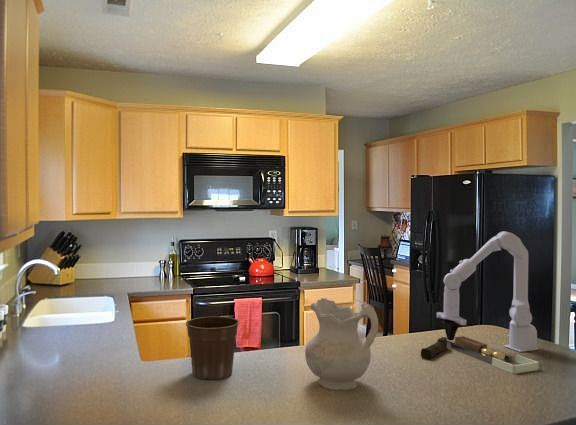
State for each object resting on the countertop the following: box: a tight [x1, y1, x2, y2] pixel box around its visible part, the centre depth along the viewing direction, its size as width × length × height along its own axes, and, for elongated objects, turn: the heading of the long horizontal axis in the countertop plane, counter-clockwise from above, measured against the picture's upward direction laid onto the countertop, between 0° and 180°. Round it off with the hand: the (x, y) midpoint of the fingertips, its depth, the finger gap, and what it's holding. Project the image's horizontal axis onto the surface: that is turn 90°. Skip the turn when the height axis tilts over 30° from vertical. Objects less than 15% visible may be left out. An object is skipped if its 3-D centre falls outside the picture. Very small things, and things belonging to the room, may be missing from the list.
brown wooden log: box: [420, 336, 448, 360], centre depth 186 cm, size 19×4×5 cm, turn 140°
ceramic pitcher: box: [304, 297, 379, 391], centre depth 153 cm, size 22×20×25 cm
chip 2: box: [492, 350, 506, 362], centre depth 179 cm, size 4×4×3 cm
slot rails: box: [447, 340, 513, 365], centre depth 188 cm, size 9×24×2 cm, turn 24°
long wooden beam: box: [454, 335, 488, 353], centre depth 190 cm, size 4×12×4 cm, turn 23°
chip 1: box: [481, 347, 495, 357], centre depth 182 cm, size 4×4×3 cm
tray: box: [491, 354, 540, 375], centre depth 172 cm, size 11×9×2 cm
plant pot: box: [185, 316, 240, 381], centre depth 159 cm, size 16×16×16 cm
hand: (450, 339), depth 200 cm, fingers closed
